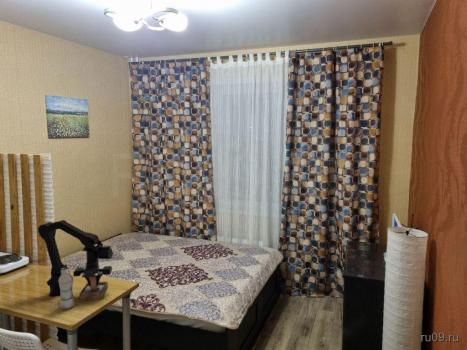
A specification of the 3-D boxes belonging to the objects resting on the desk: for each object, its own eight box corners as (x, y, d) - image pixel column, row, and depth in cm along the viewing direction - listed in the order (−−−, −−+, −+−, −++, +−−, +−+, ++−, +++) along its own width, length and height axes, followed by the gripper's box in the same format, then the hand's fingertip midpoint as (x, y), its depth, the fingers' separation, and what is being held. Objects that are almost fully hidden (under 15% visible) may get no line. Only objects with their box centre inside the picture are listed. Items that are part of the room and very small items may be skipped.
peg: (92, 290, 184) (91, 274, 183) (98, 290, 185) (97, 274, 184) (90, 293, 181) (89, 277, 180) (96, 292, 182) (95, 276, 181)
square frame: (80, 300, 176) (79, 293, 176) (87, 289, 189) (87, 282, 188) (101, 299, 177) (101, 291, 177) (107, 288, 190) (107, 281, 190)
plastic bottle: (63, 304, 172) (60, 266, 170) (76, 304, 172) (74, 266, 170) (57, 311, 166) (55, 272, 163) (71, 310, 166) (69, 271, 164)
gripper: (68, 265, 172) (70, 294, 174) (106, 263, 174) (108, 291, 176) (76, 257, 183) (77, 284, 185) (111, 255, 185) (113, 282, 187)
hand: (93, 286), depth 183 cm, fingers closed on peg, 3 cm apart
